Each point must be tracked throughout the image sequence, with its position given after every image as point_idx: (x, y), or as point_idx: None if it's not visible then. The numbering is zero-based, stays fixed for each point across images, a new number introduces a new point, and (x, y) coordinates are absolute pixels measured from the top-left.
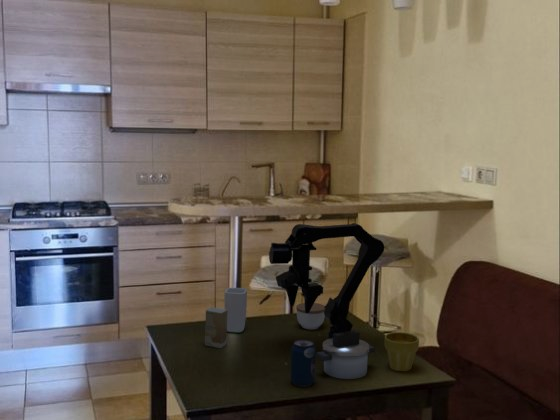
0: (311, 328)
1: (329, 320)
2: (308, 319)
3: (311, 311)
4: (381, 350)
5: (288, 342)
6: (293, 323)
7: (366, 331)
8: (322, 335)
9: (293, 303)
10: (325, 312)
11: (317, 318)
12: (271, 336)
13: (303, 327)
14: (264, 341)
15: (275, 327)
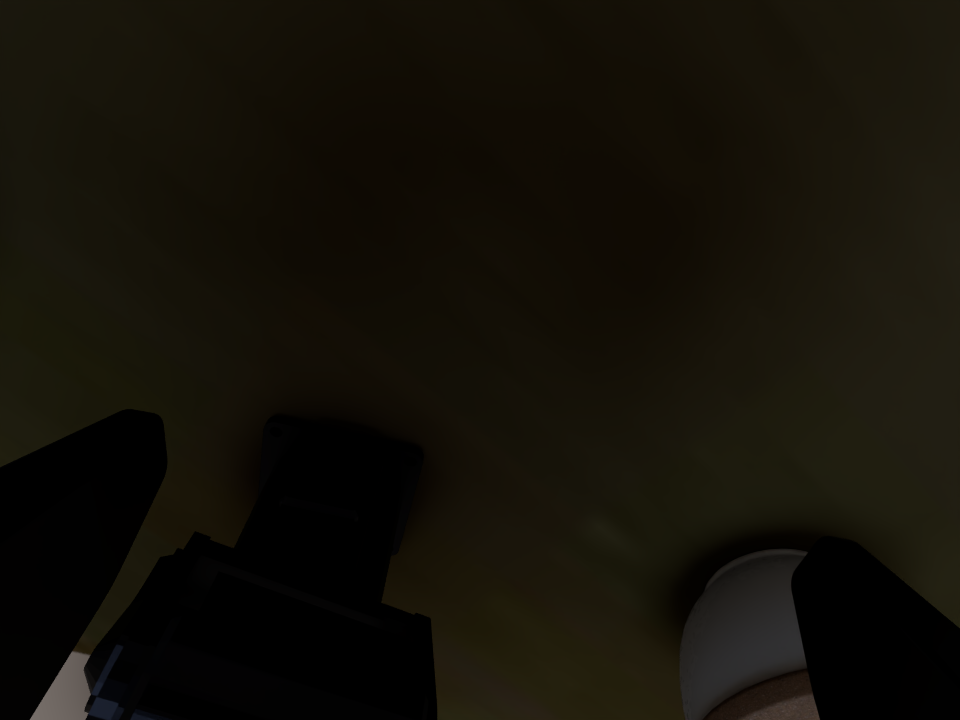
0: (728, 570)
1: (230, 600)
2: (758, 617)
3: (760, 705)
4: (118, 579)
5: (683, 233)
6: (932, 568)
7: (440, 712)
8: (577, 535)
9: (814, 627)
10: (367, 706)
11: (696, 662)
12: (948, 225)
13: (800, 554)
14: (939, 34)
15: None
